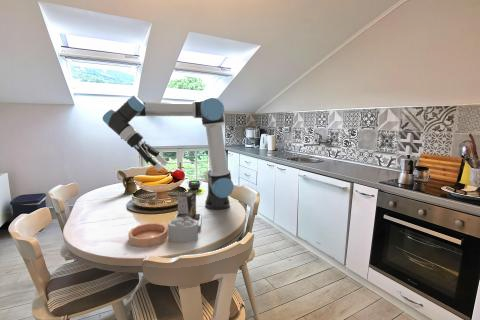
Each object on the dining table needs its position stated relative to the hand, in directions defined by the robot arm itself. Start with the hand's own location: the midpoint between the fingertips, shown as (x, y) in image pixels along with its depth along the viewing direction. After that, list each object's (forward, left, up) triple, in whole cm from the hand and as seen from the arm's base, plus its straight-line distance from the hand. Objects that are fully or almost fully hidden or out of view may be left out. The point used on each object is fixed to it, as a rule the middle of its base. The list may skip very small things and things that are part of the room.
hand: (163, 166), depth 127 cm
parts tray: (-12, +6, -29) cm, 32 cm away
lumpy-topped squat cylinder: (-12, +20, -29) cm, 37 cm away
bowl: (+4, +19, -29) cm, 35 cm away
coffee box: (-12, +6, -29) cm, 32 cm away
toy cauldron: (-12, -52, -29) cm, 61 cm away
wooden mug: (+34, -50, -29) cm, 67 cm away
